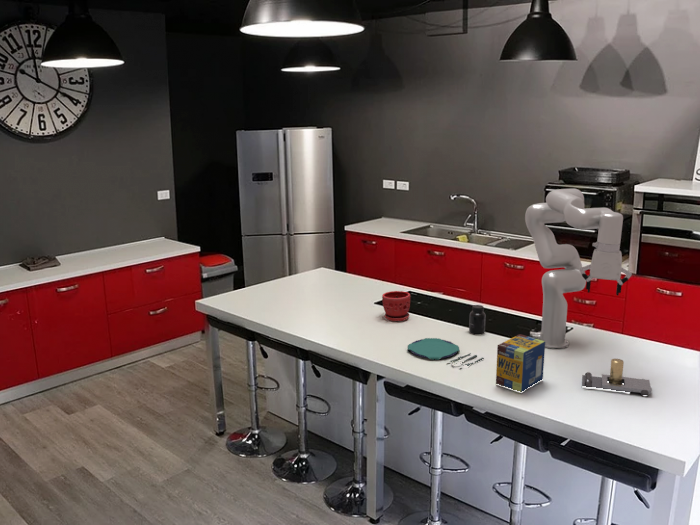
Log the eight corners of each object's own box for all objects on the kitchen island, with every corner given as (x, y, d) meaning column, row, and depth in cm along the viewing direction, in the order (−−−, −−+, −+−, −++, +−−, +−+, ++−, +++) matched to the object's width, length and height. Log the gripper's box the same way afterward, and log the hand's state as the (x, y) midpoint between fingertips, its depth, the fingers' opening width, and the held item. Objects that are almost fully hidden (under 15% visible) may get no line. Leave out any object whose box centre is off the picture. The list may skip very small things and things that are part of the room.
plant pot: (410, 314, 300) (410, 290, 298) (410, 323, 288) (410, 298, 285) (383, 313, 302) (382, 289, 299) (381, 322, 289) (381, 298, 286)
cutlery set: (431, 339, 269) (432, 334, 268) (488, 360, 246) (488, 355, 246) (398, 351, 256) (398, 346, 256) (454, 375, 234) (455, 369, 233)
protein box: (495, 385, 223) (496, 344, 219) (518, 372, 233) (520, 333, 230) (521, 394, 216) (523, 352, 212) (543, 380, 226) (546, 340, 222)
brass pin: (609, 388, 219) (611, 362, 216) (608, 384, 222) (611, 357, 220) (621, 390, 217) (623, 363, 215) (620, 385, 221) (623, 359, 219)
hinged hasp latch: (581, 388, 219) (582, 382, 219) (582, 377, 228) (582, 371, 227) (650, 397, 212) (651, 391, 211) (648, 385, 220) (649, 379, 220)
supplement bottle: (467, 333, 274) (467, 307, 271) (471, 328, 279) (472, 303, 277) (482, 336, 270) (483, 309, 268) (486, 331, 276) (487, 305, 273)
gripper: (581, 247, 220) (577, 293, 225) (635, 251, 214) (629, 299, 219) (582, 242, 227) (577, 287, 232) (634, 246, 221) (628, 292, 226)
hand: (602, 292), depth 225 cm, fingers open, 9 cm apart
